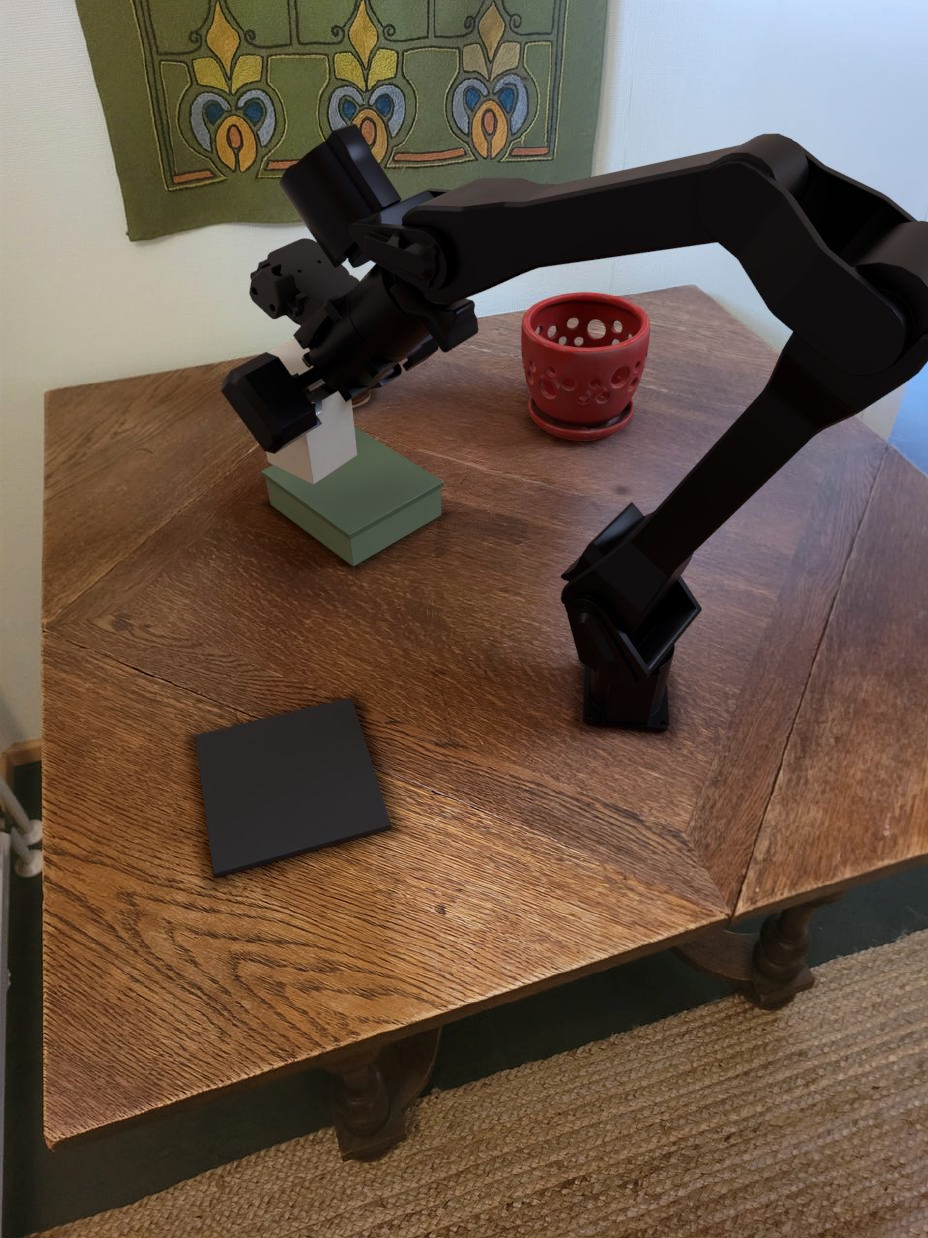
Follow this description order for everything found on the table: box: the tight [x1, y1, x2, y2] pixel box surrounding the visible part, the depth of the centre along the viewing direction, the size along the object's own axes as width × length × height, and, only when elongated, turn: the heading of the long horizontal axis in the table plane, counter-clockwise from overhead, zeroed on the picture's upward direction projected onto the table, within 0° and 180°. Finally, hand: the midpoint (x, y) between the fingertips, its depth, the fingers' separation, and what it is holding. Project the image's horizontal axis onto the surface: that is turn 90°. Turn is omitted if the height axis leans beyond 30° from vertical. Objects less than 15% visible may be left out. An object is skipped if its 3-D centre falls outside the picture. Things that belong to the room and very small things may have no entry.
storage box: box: [261, 425, 445, 567], centre depth 84 cm, size 13×11×4 cm
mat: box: [194, 697, 392, 879], centre depth 63 cm, size 12×12×1 cm
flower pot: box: [520, 291, 651, 442], centre depth 93 cm, size 13×13×12 cm
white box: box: [265, 337, 357, 484], centre depth 73 cm, size 6×6×10 cm
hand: (294, 407), depth 74 cm, fingers closed on white box, 5 cm apart
